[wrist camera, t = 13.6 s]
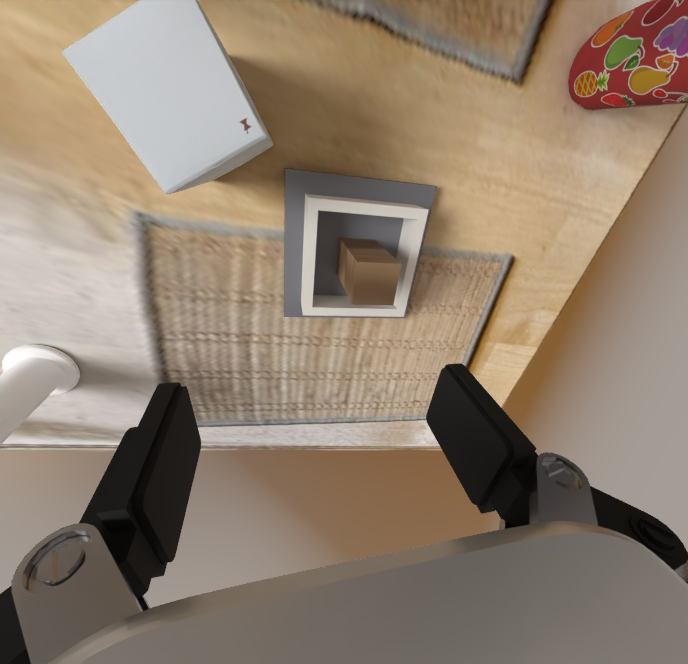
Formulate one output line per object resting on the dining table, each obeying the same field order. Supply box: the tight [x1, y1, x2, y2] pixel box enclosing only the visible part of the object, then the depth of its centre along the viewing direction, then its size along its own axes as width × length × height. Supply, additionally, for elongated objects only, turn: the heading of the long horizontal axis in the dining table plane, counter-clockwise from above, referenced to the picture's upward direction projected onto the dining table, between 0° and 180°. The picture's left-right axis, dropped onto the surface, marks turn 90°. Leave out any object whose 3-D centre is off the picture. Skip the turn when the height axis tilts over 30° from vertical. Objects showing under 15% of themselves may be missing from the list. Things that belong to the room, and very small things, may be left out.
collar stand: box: [284, 168, 437, 318], centre depth 33 cm, size 16×16×5 cm
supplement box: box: [62, 0, 273, 194], centre depth 21 cm, size 7×7×13 cm
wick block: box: [336, 238, 401, 305], centre depth 30 cm, size 4×4×9 cm
